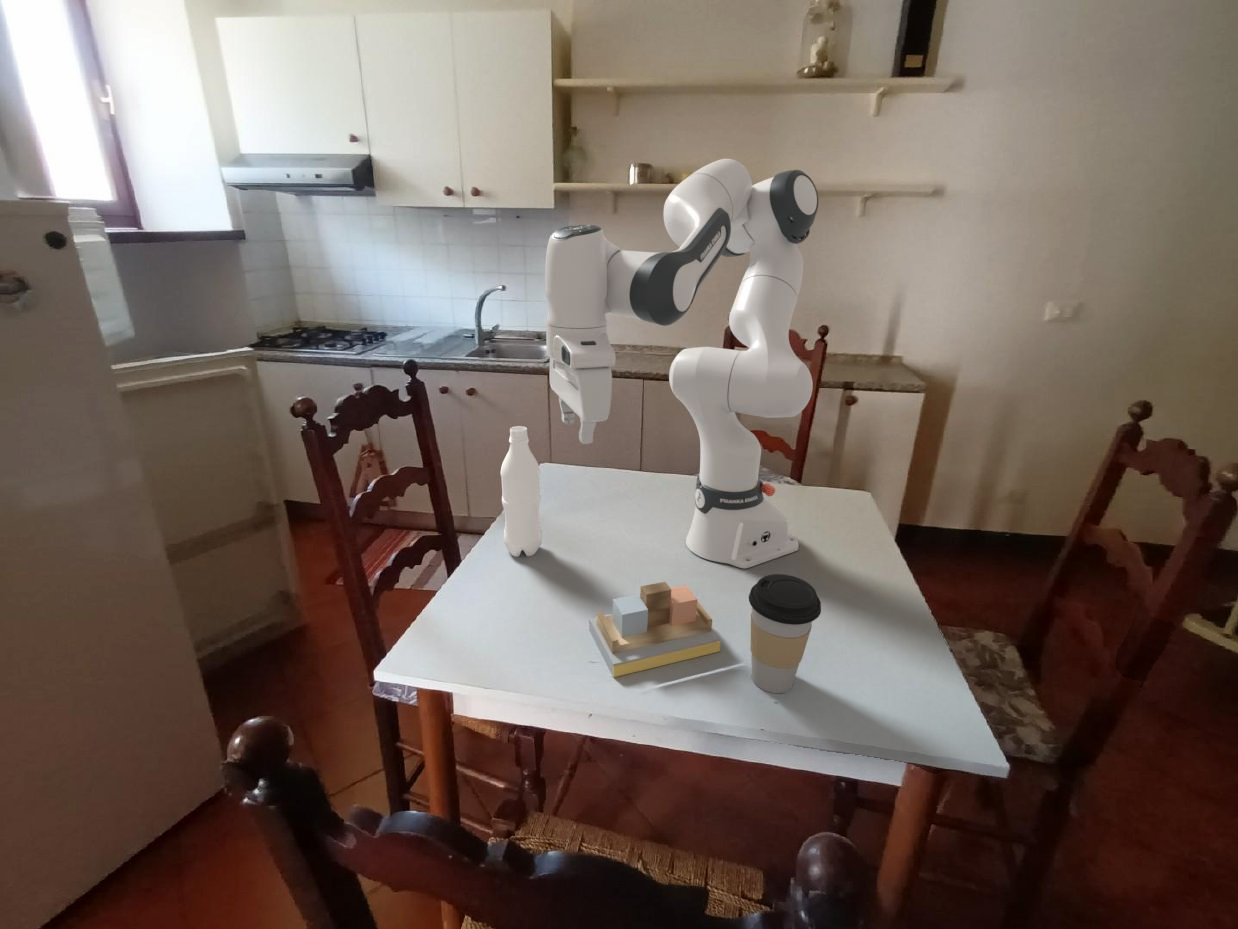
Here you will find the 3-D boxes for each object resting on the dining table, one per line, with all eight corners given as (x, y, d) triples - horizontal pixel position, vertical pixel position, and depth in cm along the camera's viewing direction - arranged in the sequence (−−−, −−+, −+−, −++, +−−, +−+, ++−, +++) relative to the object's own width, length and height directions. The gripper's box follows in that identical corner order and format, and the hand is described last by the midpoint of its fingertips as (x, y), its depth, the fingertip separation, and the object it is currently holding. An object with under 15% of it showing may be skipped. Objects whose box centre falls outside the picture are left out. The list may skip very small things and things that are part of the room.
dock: (686, 610, 100) (687, 598, 100) (719, 653, 91) (721, 639, 90) (589, 631, 95) (589, 618, 94) (613, 679, 85) (613, 665, 84)
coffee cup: (734, 655, 90) (745, 569, 85) (798, 658, 90) (812, 572, 85) (744, 702, 82) (757, 610, 76) (814, 705, 82) (832, 613, 76)
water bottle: (535, 562, 113) (531, 437, 104) (498, 557, 114) (491, 433, 105) (546, 544, 120) (544, 424, 110) (512, 539, 121) (506, 420, 111)
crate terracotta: (684, 606, 95) (685, 584, 94) (695, 621, 92) (697, 599, 90) (660, 611, 94) (662, 589, 92) (671, 626, 91) (673, 604, 89)
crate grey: (636, 616, 93) (637, 594, 91) (646, 632, 89) (648, 609, 88) (612, 621, 91) (612, 599, 90) (621, 637, 88) (622, 614, 86)
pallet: (690, 605, 98) (693, 566, 95) (711, 631, 92) (715, 591, 89) (596, 624, 92) (597, 584, 90) (612, 653, 86) (613, 612, 84)
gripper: (538, 332, 97) (541, 414, 102) (575, 359, 79) (575, 457, 84) (576, 330, 99) (576, 411, 104) (620, 356, 81) (618, 452, 87)
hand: (576, 432), depth 94 cm, fingers open, 8 cm apart
